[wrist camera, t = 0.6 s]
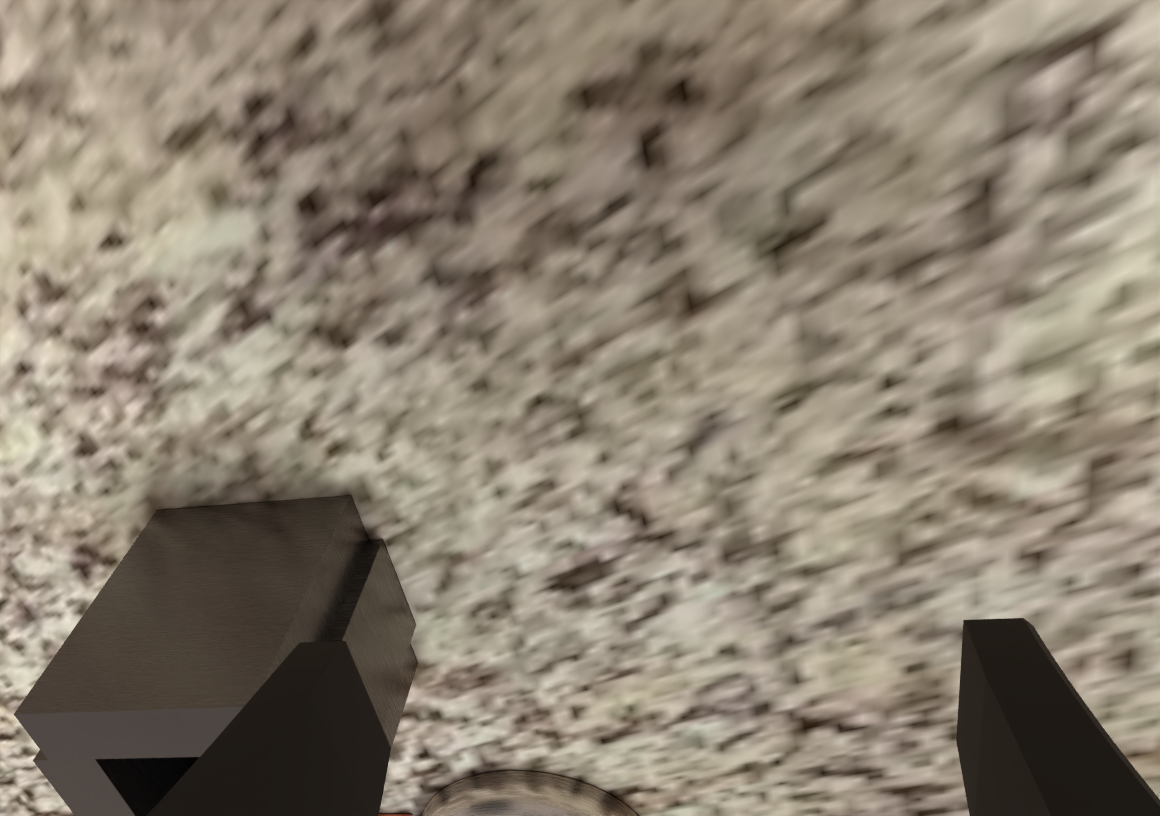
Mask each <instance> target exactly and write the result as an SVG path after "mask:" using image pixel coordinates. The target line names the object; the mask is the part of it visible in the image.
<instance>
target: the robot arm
mask: <svg viewBox="0 0 1160 816" xmlns="http://www.w3.org/2000/svg"><path fill="white" fill-rule="evenodd" d="M957 747H958V752H959V758H960V763H961V769H962V775H963V780H964V786H965V792H966V797H967V802H968V808H969V813H970V816H1160V800H1159V798H1158V797H1157V796H1156V795H1155V793H1154V792H1153V791H1152V790H1151V788H1150V787H1149V786H1148V785H1147V783H1146V782H1145V781H1144V780H1143V778H1142V777H1141V776H1140V775H1139V773H1138V772H1137V771H1136V770H1135V768H1134V767H1133V766H1132V765H1131V763H1130V762H1129V761H1128V760H1127V758H1126V757H1125V756H1124V755H1123V753H1122V752H1121V751H1120V749H1119V748H1118V747H1117V746H1116V744H1115V743H1114V742H1113V740H1112V739H1111V738H1110V736H1109V735H1108V734H1107V732H1106V731H1105V730H1104V728H1103V727H1102V726H1101V724H1100V723H1099V722H1098V720H1097V719H1096V718H1095V716H1094V715H1093V713H1092V712H1091V711H1090V709H1089V708H1088V707H1087V705H1086V704H1085V702H1084V701H1083V700H1082V698H1081V697H1080V696H1079V694H1078V693H1077V691H1076V690H1075V688H1074V687H1073V686H1072V684H1071V683H1070V681H1069V680H1068V678H1067V677H1066V676H1065V674H1064V673H1063V671H1062V670H1061V668H1060V667H1059V665H1058V664H1057V662H1056V661H1055V659H1054V658H1053V656H1052V655H1051V653H1050V652H1049V650H1048V649H1047V647H1046V646H1045V644H1044V642H1043V641H1042V639H1041V638H1040V636H1039V635H1038V633H1037V631H1036V630H1035V628H1034V626H1033V625H1031V624H1030V623H1029V622H1028V621H1026V620H1025V619H1024V618H1013V619H983V620H964V624H963V640H962V657H961V674H960V690H959V707H958V724H957ZM390 750H391V747H390V744H389V742H388V740H387V737H386V735H385V733H384V730H383V728H382V726H381V723H380V721H379V719H378V716H377V714H376V711H375V709H374V707H373V704H372V702H371V700H370V697H369V695H368V693H367V690H366V688H365V686H364V683H363V681H362V679H361V676H360V674H359V672H358V669H357V667H356V665H355V662H354V660H353V657H352V655H351V653H350V650H349V648H348V646H347V643H346V641H330V642H300V643H299V644H298V645H297V646H296V647H295V648H294V649H293V651H292V652H291V653H290V654H289V655H288V656H287V657H286V658H285V660H284V661H283V662H282V663H281V664H280V665H279V666H278V668H277V669H276V670H275V671H274V672H273V673H272V675H271V676H270V677H269V678H268V679H267V680H266V681H265V683H264V684H263V685H262V686H261V687H260V688H259V690H258V691H257V692H256V693H255V694H254V695H253V697H252V698H251V699H250V700H249V701H248V702H247V703H246V705H245V706H244V707H243V708H242V709H241V710H240V712H239V713H238V714H237V715H236V716H235V717H234V719H233V720H232V721H231V722H230V723H229V724H228V726H227V727H226V728H225V729H224V730H223V731H222V732H221V734H220V735H219V736H218V737H217V738H216V739H215V741H214V742H213V743H212V744H211V745H210V746H209V747H208V748H207V750H206V751H205V752H204V753H203V754H202V755H201V756H200V757H199V759H198V760H197V761H196V762H195V763H194V764H193V765H192V766H191V768H190V769H189V770H188V771H187V772H186V773H185V774H184V775H183V777H182V778H181V779H180V780H179V781H178V782H177V783H176V784H175V786H174V787H173V788H172V789H171V790H170V791H169V792H168V793H167V794H166V796H165V797H164V798H163V799H162V800H161V801H160V802H159V803H158V804H157V805H156V806H155V807H154V808H153V809H152V810H151V811H150V812H149V813H148V814H147V816H378V814H379V809H380V805H381V800H382V795H383V790H384V784H385V778H386V773H387V767H388V761H389V756H390Z"/></svg>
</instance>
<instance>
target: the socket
mask: <svg viewBox="0 0 1160 816" xmlns="http://www.w3.org/2000/svg"><path fill="white" fill-rule="evenodd" d="M415 627H416V625H415V622H414V619H413V617H412V614H411V612H410V609H409V607H408V604H407V601H406V599H405V596H404V594H403V591H402V589H401V586H400V583H399V581H398V578H397V576H396V573H395V570H394V568H393V565H392V563H391V560H390V558H389V555H388V552H387V550H386V547H385V545H384V542H383V540H375V541H369V540H368V537H367V535H366V532H365V530H364V527H363V525H362V522H361V520H360V517H359V515H358V512H357V510H356V507H355V505H354V502H353V500H352V497H351V496H339V497H326V498H313V499H300V500H287V501H274V502H261V503H247V504H234V505H221V506H208V507H195V508H182V509H169V510H157V511H156V512H155V514H154V515H153V517H152V518H151V520H150V521H149V522H148V524H147V525H146V527H145V528H144V530H143V531H142V532H141V534H140V535H139V537H138V538H137V540H136V541H135V542H134V544H133V545H132V547H131V548H130V550H129V551H128V552H127V554H126V555H125V557H124V558H123V560H122V561H121V562H120V564H119V565H118V567H117V568H116V569H115V571H114V572H113V574H112V575H111V577H110V578H109V579H108V581H107V582H106V584H105V585H104V587H103V588H102V589H101V591H100V592H99V594H98V595H97V597H96V598H95V599H94V601H93V602H92V604H91V605H90V607H89V608H88V609H87V611H86V612H85V614H84V615H83V617H82V618H81V619H80V621H79V622H78V624H77V625H76V627H75V628H74V629H73V631H72V632H71V634H70V635H69V636H68V638H67V639H66V641H65V642H64V644H63V645H62V646H61V648H60V649H59V651H58V652H57V654H56V655H55V656H54V658H53V659H52V661H51V662H50V664H49V665H48V666H47V668H46V669H45V671H44V672H43V674H42V675H41V676H40V678H39V679H38V681H37V682H36V684H35V685H34V686H33V688H32V689H31V691H30V692H29V694H28V695H27V696H26V698H25V699H24V701H23V702H22V704H21V705H20V706H19V708H18V709H17V711H16V712H15V713H14V715H15V717H16V718H17V719H18V720H19V722H20V723H21V724H22V726H23V727H24V728H25V730H26V731H27V732H28V734H29V735H30V736H31V738H32V739H33V740H34V742H35V743H36V744H37V746H38V747H39V748H40V751H39V752H38V754H37V755H36V757H35V758H34V760H33V761H34V762H35V764H36V765H37V766H38V768H39V769H40V770H41V772H42V773H43V774H44V775H45V777H46V778H47V779H48V781H49V782H50V783H51V785H52V786H53V787H54V788H55V790H56V791H57V792H58V794H59V795H60V796H61V798H62V799H63V800H64V802H65V803H66V804H67V805H68V807H69V808H70V809H71V811H72V812H73V813H74V815H75V816H147V814H148V813H149V812H150V811H151V810H152V809H153V808H154V807H155V806H156V805H157V804H158V803H159V802H160V801H161V800H162V799H163V798H164V797H165V796H166V794H167V793H168V792H169V791H170V790H171V789H172V788H173V787H174V786H175V784H176V783H177V782H178V781H179V780H180V779H181V778H182V777H183V775H184V774H185V773H186V772H187V771H188V770H189V769H190V768H191V766H192V765H193V764H194V763H195V762H196V761H197V760H198V759H199V757H200V756H201V755H202V754H203V753H204V752H205V751H206V750H207V748H208V747H209V746H210V745H211V744H212V743H213V742H214V741H215V739H216V738H217V737H218V736H219V735H220V734H221V732H222V731H223V730H224V729H225V728H226V727H227V726H228V724H229V723H230V722H231V721H232V720H233V719H234V717H235V716H236V715H237V714H238V713H239V712H240V710H241V709H242V708H243V707H244V706H245V705H246V703H247V702H248V701H249V700H250V699H251V698H252V697H253V695H254V694H255V693H256V692H257V691H258V690H259V688H260V687H261V686H262V685H263V684H264V683H265V681H266V680H267V679H268V678H269V677H270V676H271V675H272V673H273V672H274V671H275V670H276V669H277V668H278V666H279V665H280V664H281V663H282V662H283V661H284V660H285V658H286V657H287V656H288V655H289V654H290V653H291V652H292V651H293V649H294V648H295V647H296V646H297V645H298V644H299V643H300V642H330V641H346V643H347V646H348V648H349V650H350V653H351V655H352V657H353V660H354V662H355V665H356V667H357V669H358V672H359V674H360V676H361V679H362V681H363V683H364V686H365V688H366V690H367V693H368V695H369V697H370V700H371V702H372V704H373V707H374V709H375V711H376V714H377V716H378V719H379V721H380V723H381V726H382V728H383V730H384V733H385V735H386V737H387V740H388V742H389V744H390V747H392V744H393V741H394V738H395V734H396V731H397V728H398V725H399V722H400V718H401V715H402V712H403V709H404V706H405V703H406V699H407V696H408V693H409V690H410V687H411V683H412V680H413V677H414V674H415V671H416V668H417V664H418V663H417V660H416V658H415V655H414V653H413V650H412V648H411V645H410V642H411V639H412V636H413V633H414V630H415Z"/></svg>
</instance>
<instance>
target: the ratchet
mask: <svg viewBox="0 0 1160 816" xmlns="http://www.w3.org/2000/svg"><path fill="white" fill-rule="evenodd" d="M378 816H411V814H378ZM422 816H638V815H637V814H636V813H635V812H633V811H632V810H631V809H630V808H629V807H628V806H626V805H625V804H624V803H622V802H621V801H619V800H618V799H616V798H615V797H613V796H611V795H609V794H608V793H606V792H604V791H602V790H600V789H597V788H595V787H593V786H591V785H588V784H585V783H582V782H580V781H577V780H573V779H570V778H566V777H562V776H558V775H552V774H547V773H540V772H530V771H500V772H491V773H484V774H479V775H475V776H471V777H467V778H465V779H462V780H460V781H457V782H454V783H453V784H451V785H449V786H447V787H445V788H444V789H442V790H441V791H440V792H438V793H437V794H436V795H435V796H434V797H433V798H432V799H431V800H430V801H429V803H428V804H427V806H426V808H425V809H424V812H423V815H422Z"/></svg>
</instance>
